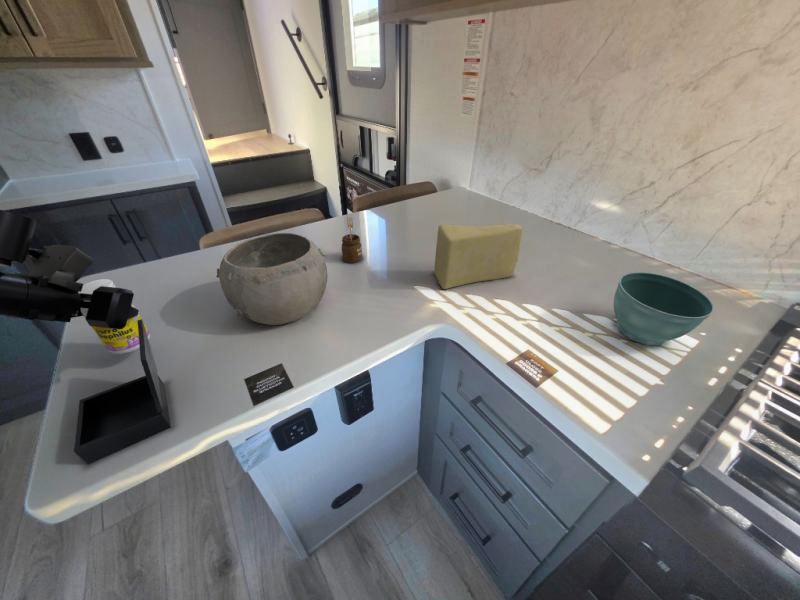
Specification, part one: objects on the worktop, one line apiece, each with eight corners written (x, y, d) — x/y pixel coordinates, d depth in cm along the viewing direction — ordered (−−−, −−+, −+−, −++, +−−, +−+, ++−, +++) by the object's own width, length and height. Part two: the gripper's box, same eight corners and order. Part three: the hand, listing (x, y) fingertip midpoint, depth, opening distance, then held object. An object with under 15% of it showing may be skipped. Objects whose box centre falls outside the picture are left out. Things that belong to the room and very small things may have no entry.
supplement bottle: (103, 359, 56) (60, 301, 49) (114, 336, 61) (77, 280, 54) (147, 350, 58) (112, 292, 51) (155, 328, 63) (124, 273, 56)
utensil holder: (342, 264, 93) (338, 225, 86) (342, 254, 98) (339, 217, 91) (362, 263, 94) (360, 225, 87) (362, 253, 99) (359, 216, 92)
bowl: (301, 270, 90) (292, 219, 81) (350, 305, 77) (345, 249, 68) (217, 302, 77) (195, 246, 68) (258, 351, 64) (237, 290, 55)
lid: (140, 359, 42) (146, 358, 43) (137, 320, 49) (142, 319, 49) (157, 413, 48) (162, 411, 48) (152, 370, 54) (157, 369, 55)
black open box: (88, 464, 45) (73, 451, 43) (91, 413, 52) (79, 400, 50) (170, 427, 50) (161, 413, 48) (164, 385, 57) (155, 371, 55)
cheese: (504, 266, 94) (516, 218, 85) (520, 284, 86) (534, 233, 77) (432, 272, 91) (437, 222, 82) (441, 290, 83) (448, 238, 74)
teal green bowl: (700, 363, 64) (735, 322, 57) (614, 352, 66) (639, 311, 59) (661, 314, 77) (685, 276, 70) (590, 306, 79) (608, 268, 72)
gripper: (88, 242, 42) (177, 272, 58) (-32, 232, 44) (85, 264, 59) (65, 324, 41) (163, 333, 56) (-60, 311, 42) (69, 323, 58)
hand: (120, 311), depth 57 cm, fingers closed on supplement bottle, 6 cm apart
